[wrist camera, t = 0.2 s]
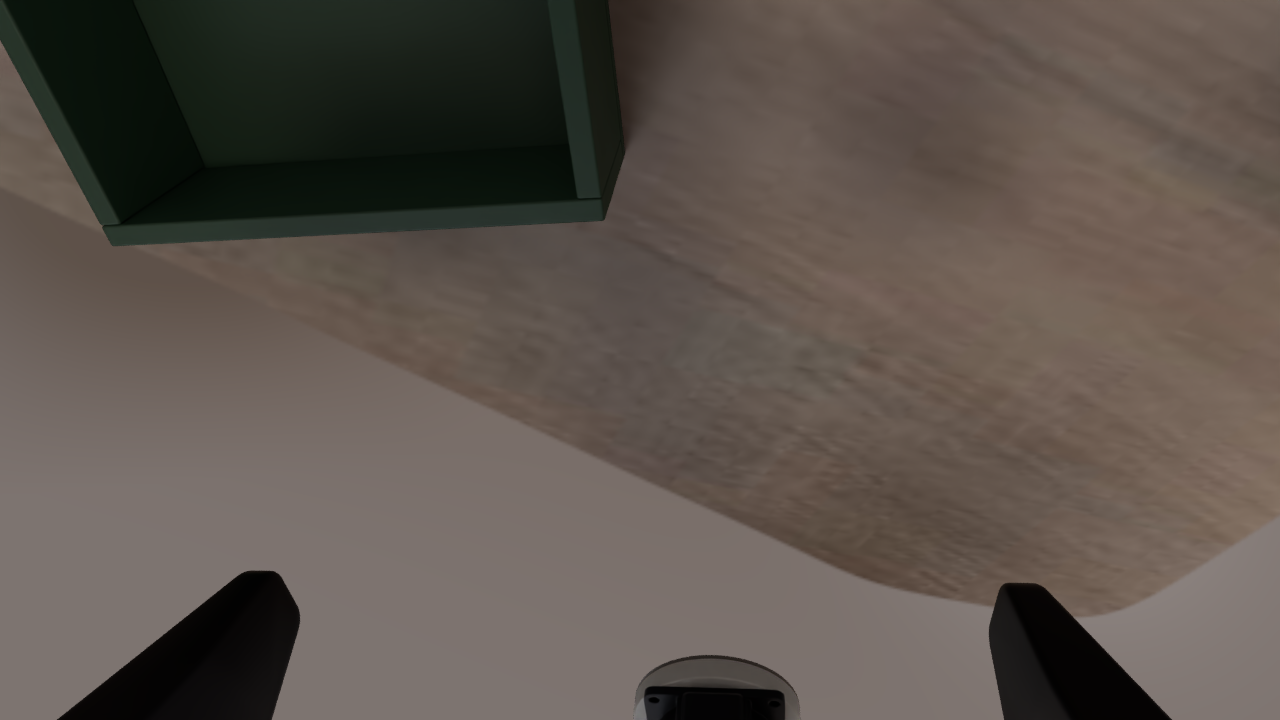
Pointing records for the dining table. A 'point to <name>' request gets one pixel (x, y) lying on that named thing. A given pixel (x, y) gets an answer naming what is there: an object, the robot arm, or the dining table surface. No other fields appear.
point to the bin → (324, 112)
